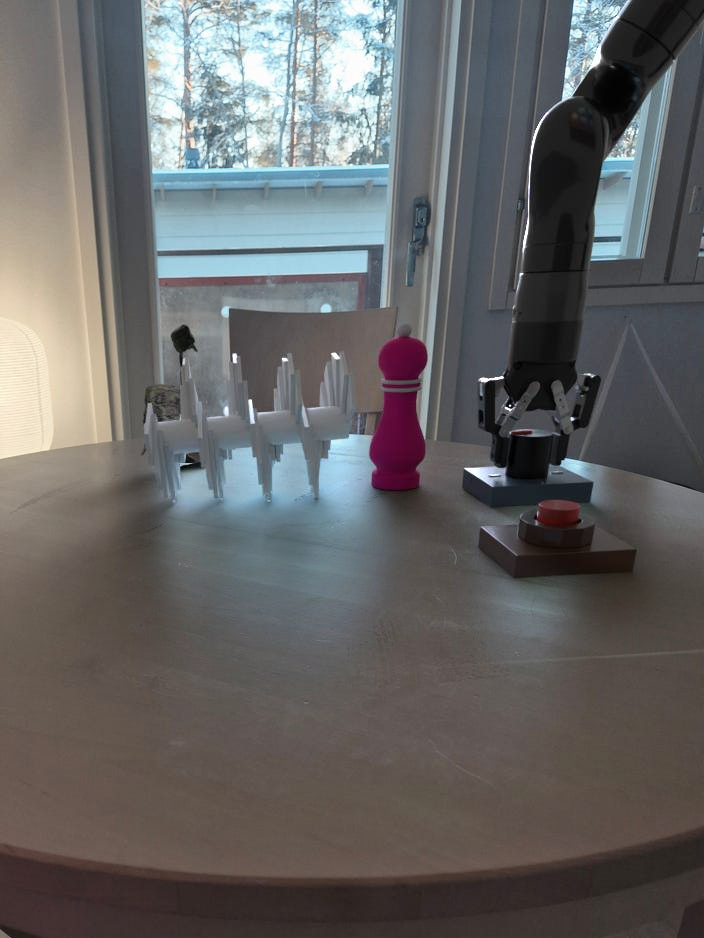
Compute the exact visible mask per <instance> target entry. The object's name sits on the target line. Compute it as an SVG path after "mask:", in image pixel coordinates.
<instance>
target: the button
mask: <svg viewBox="0 0 704 938" xmlns="http://www.w3.org/2000/svg"><path fill="white" fill-rule="evenodd" d="M581 508H582V506H581V505H580V503H575V502H571V501H565V500H546V501H542V502H540V503H539V505H538V508H537V510H538V513H537V520H536V521H538V522H542V523H545V524H550V525H561V526H563V525H576V524H578V520H579V514H580V513H581Z"/></svg>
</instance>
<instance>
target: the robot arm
mask: <svg viewBox="0 0 704 938" xmlns="http://www.w3.org/2000/svg"><path fill="white" fill-rule="evenodd" d="M703 24H704V0H627V1H626V2H625V3H624V5H623V6H622V8H621V9H620V11H619V12H618V14H617V15H616V17H615V18H614V20H613V21H612V23H611V25H610V26H609V27H608V29H607V31H606V32H605V34H604V36H603V38H602V39H601V41H600V43H599V46H598V48H597V51H596V54H595V57H594V60H593V62H592V63H591V66H590V67H589V69H588V70H587V72H586V73H585V75H584V76H583V78H582V79H581V81H580V82H579V84H578V85H577V86H576V88H575V90H574V91H573V93H571V96H570V97H566V98H565V99H562V100H561V101H559V102H558V103H556V104H555V105H553V106H552V107H551V108H550V109H549V110H548V111H547V112H546V113H545V115H544V116H543V117H542V119H541V120H540V122H539V124H538V126H537V128H536V130H535V132H534V136H533V140H532V145H531V153H530V161H529V177H528V202H527V203H528V204H527V205H528V206H527V207H528V208H527V209H528V210H527V211H528V217H527V224H526V230H525V234H524V239H523V247H522V255H521V263H520V272H519V277H518V283H517V286H516V290H515V295H514V299H513V300H514V302H513V306H512V309H511V318H512V319H511V324H510V325H511V326H510V333H509V340H508V341H509V342H508V350H507V357H506V359H507V361H506V362H507V365H506V368H505V371H504V372H503V373H502V376H499V377H493V378H487V377H481V378H478V380H477V383H476V384H477V386H476V387H477V393H476V394H477V398H476V399H477V401H476V402H477V428H479V430H481V431H484V432H486V433H489V434H491V445H490V453H489V459H490V462H491V463H493V467H497V468H505V467H506V463H507V455H508V447H509V439H510V438H509V433H510V432H511V431H512V429H513V428H514V426H515V424H516V423H517V422H518V421H519V420H520V419H522V417H523V415H524V413H525V412H534V411H537V410H541V411H546V412H547V414H548V415H549V417H550V419H551V423H552V425H553V428H554V431H552V432H553V433H554V438H553V444H552V451H551V457H550V464H551V465H553V466H562V463H563V462H564V461H565V460H566V458H567V457H568V448H569V442H570V436H571V434H572V433H573V432H574V431H577V430H579V429H586V428H587V427H588V426H589V424H590V421H591V418H592V414H593V411H594V407H595V404H596V400H597V397H598V393H599V389H600V387H601V382H602V377H601V375H598V374H594V373H589V372H585V373H583V374H582V373H578V372H577V368H576V364H577V363H576V362H577V360H578V357H579V353H580V352H579V351H580V347H581V340H582V339H581V338H582V333H583V326H584V320H585V314H586V308H587V303H588V295H589V274H590V271H589V270H590V267H591V259H592V254H593V248H594V242H595V233H596V215H595V210H596V208H595V207H596V203H597V197H598V193H599V187H600V181H601V175H602V170H603V165H604V162H605V161H606V160H607V158H608V157H609V155H610V154H611V153H612V151H613V150H614V149H615V147H616V146H617V144H618V143H619V141H620V139H621V138H622V137H623V135H624V133H625V132H626V131H627V129H628V127H629V126H630V124H631V123H632V121H633V120H634V118H635V117H636V115H637V113H638V112H639V110H640V108H641V107H642V105H643V104H644V102H645V100H646V99H647V97H648V96H649V94H651V91H652V90H653V89H654V88H655V86H656V85H657V84H658V83H659V82H660V80H662V78H663V77H664V76H665V74H666V73H667V72H668V71H669V70H670V68H672V66H673V65H674V62H675V61H677V59H678V57H680V55H681V54H682V53H683V51H684V50H685V48H686V47H687V46H688V44H689V43H690V42H691V40H692V39H693V38H694V36H695V35H696V34H697V33H698V30H699V29H700V28H701V27H702V25H703ZM573 386H574V391H575V392H576V395H575V398H574V401H573V405H572V409H571V410H570V407H569V404H568V401H567V398H566V396H567V394H568V393H569V392H570V390H571V389H572V388H573ZM502 388H503V390H504V391H505V393H506V395H507V398H506V400H505V401H504V403H503V405H502V406H501V408H500V409H499V414H498V417H497V418H496V398H497V397H499V395H500V393H501V389H502Z"/></svg>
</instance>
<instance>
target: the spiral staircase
mask: <svg viewBox="0 0 704 938" xmlns="http://www.w3.org/2000/svg"><path fill="white" fill-rule="evenodd" d="M330 353H331V355H330V356H331V359H330V360H331V361H326V364H325V368H324V372H323V380H324V381H320V385H319V386H320V387H319V405H318V406H319V407H318V406H317V407H305V404H304V400H303V392H302V381H301V370H300V369H295V366H294V361H293V355H292V352H287V355H286V356H287V357H281V366H277V375H276V385H277V386H276V387H277V388H273V408H274V409H273V411H263V412H258V408H254V407H253V400H252V399H250V398H249V388H248V380H243V372H242V361H241V355H237V353H232V361H229V362H228V367H229V368H228V369H229V370H228V371H229V378H226V379H225V382H226V394H227V395H226V396H227V406H225V407H224V415H221V416H220V415H218V416H209V417H208V416H207V415H208V414H207V413H206V412H204V411H203V403H202V402H203V401H202V400H199V395H198V392H197V388H196V384H195V379H194V378H193V377H192V372H191V364H190V357H189V356H185V357H183V364H182V366H181V367H180V366H179V370H180V369H181V381H182V385H181V384H180V385H179V388H180V402H181V414H180V419H179V420H175V421H164V422H158V420H157V416H156V413H155V414H153V407H152V403H148V406H147V414H146V423H145V424H144V425H143V433H144V434H143V436H144V445H145V446H146V451H145V452H146V455H147V459H148V465H149V467H153V474H154V478H155V481H156V484H157V488H158V491H163V499H170V498H171V501H172V500H176V497H177V498H178V491H182V483H181V467H180V463H185V458H186V454H189V453H192V452H200V459H201V462H200V467H201V469H205V474H206V475H205V476H206V481H207V486H208V491H212V490H213V491H212V492H213V498H214V499H218V498H219V499H220V498H223V499H224V485H227V480H226V477H227V476H226V467H225V460H229V461H230V460H231V461H232V460H233V451H234V450H236V449H247V448H251V454H252V458H256V459H255V460H256V470H257V481H258V482H257V483H258V485H261V488H262V490H261V491H262V496H264V497H265V496H266V499H267V500H271V501H272V492H273V468H275V464H276V463H280V462H281V455H284V445H292V444H301V446H302V451H303V455H304V456H303V457H304V459H305V462H306V470H307V479H308V485H309V486H310V487H309V488H310V494H313V497H314V499H315V498H319V499H320V497H319V496H320V469H321V460H323V459H324V460H327V459H329V451H331V446H332V445H331V444H332V441H337V440H348V439H349V438H350V428H351V427H350V424H351V421H352V419H353V418H354V415H355V413H356V410H357V407H358V401H357V389H356V376H355V375H356V374H355V370H352V371H349V370H348V365H347V360H346V355H345V351H344V350H340V351H339V356H338V354H337V352H330ZM181 381H180V382H181ZM271 491H272V492H271ZM267 500H266V501H267Z"/></svg>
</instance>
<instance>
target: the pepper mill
mask: <svg viewBox="0 0 704 938" xmlns="http://www.w3.org/2000/svg"><path fill="white" fill-rule="evenodd" d="M412 332H413V327H412V325H411V324H410V323H409V322H401V323H400V324H398V326H397V328H396V333H397V335H398V336H395V337H393V338H391V339H389V340H387V341H385V343H384V344H383V345H382V346H381V348H380V350H379V353H378V359H377V362H378V368H379V370H380V371H381V373H382V374H383V378H381V380H380V382H381V387H380V390H381V391H382V392H383V406H382V407H383V408H382V413H381V416H380V420H379V422H378V425H377V426H376V429H375V431H374V433H373V435H372V438H371V440H370V444H369V449H368V457H369V460H370V461H371V463H373V465H374V466H375V467H376V468H375V469H373V470H372V472H371V482H370V483H371V484H370V485H372V487H374V488H376V489H380V490H386V491H406V490H407V491H408V490H412V489H416V488H418V487H419V485H420V481H421V480H420V478H421V471H419V470H418V469H417V468H418V467H419V465H420V464H421V463H422V462H423V460H424V459H425V457H426V441H425V436H424V433H423V429H422V427H421V425H420V422H419V417H418V412H417V400H418V392H419V391H421V390H422V386H421V385H422V383H421V382H423V378H421V377H420V376H421V374H422V372H423V371H424V370H425V369H426V367H427V365H428V360H429V353H428V349H427V346H426V345H425V343H424V342H423V341H422V340H421V339H419V338H417V337H415V336H411V334H412Z"/></svg>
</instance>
